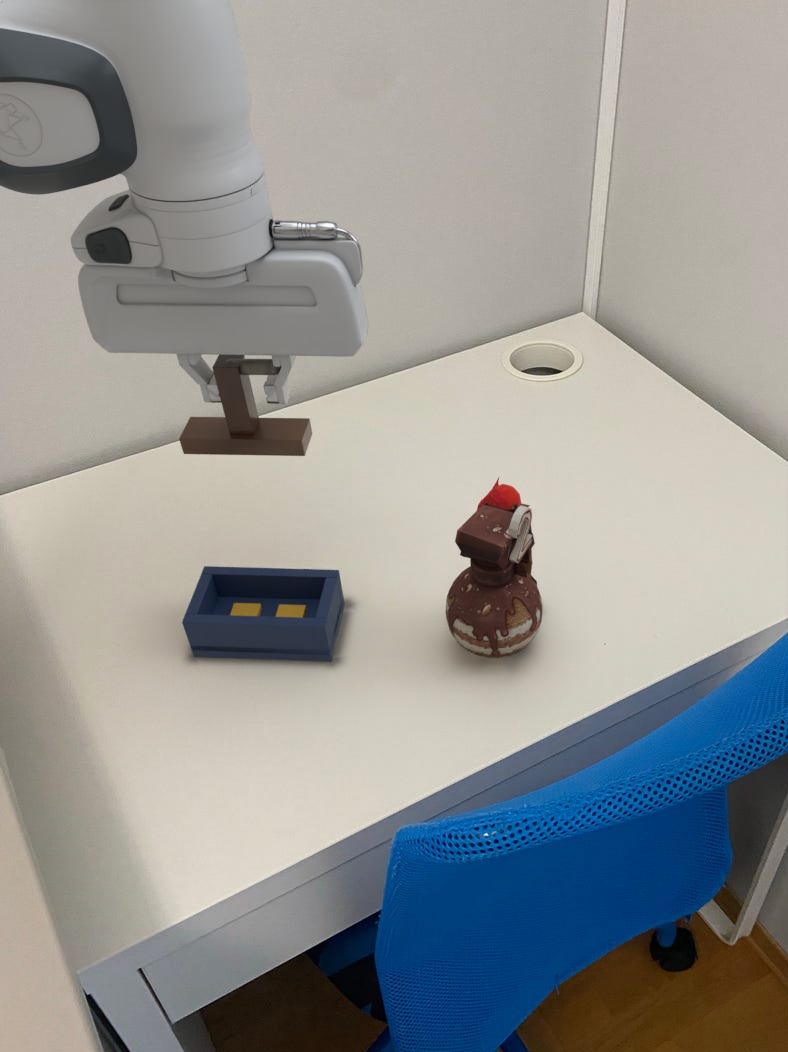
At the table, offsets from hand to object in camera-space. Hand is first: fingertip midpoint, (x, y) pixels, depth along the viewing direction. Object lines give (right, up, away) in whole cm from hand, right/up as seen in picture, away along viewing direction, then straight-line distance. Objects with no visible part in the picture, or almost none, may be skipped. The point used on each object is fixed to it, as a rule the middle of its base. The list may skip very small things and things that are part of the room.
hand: (247, 399), depth 74 cm
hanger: (-1, -3, +3) cm, 4 cm away
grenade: (+20, -19, +8) cm, 28 cm away
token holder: (0, -18, +9) cm, 20 cm away
